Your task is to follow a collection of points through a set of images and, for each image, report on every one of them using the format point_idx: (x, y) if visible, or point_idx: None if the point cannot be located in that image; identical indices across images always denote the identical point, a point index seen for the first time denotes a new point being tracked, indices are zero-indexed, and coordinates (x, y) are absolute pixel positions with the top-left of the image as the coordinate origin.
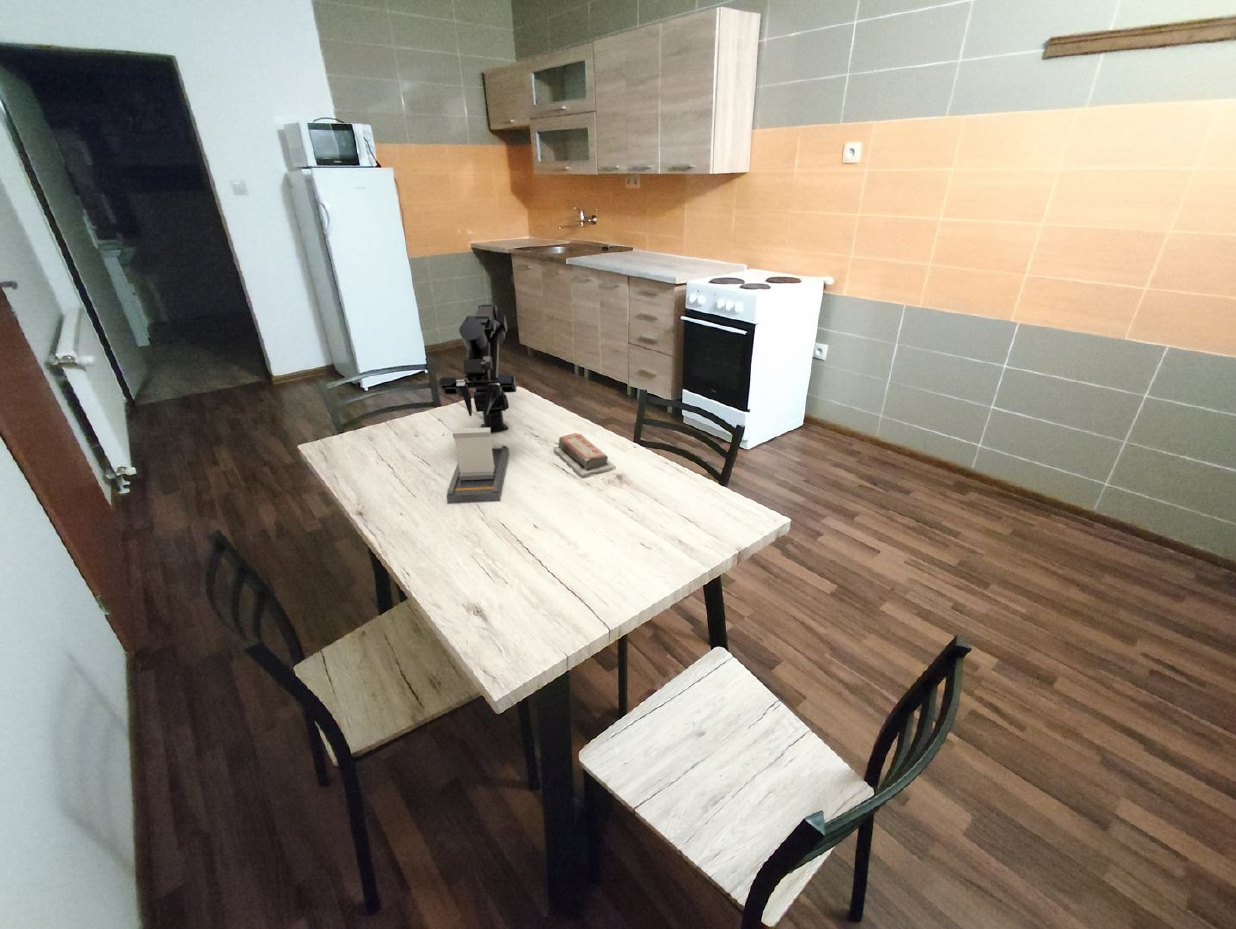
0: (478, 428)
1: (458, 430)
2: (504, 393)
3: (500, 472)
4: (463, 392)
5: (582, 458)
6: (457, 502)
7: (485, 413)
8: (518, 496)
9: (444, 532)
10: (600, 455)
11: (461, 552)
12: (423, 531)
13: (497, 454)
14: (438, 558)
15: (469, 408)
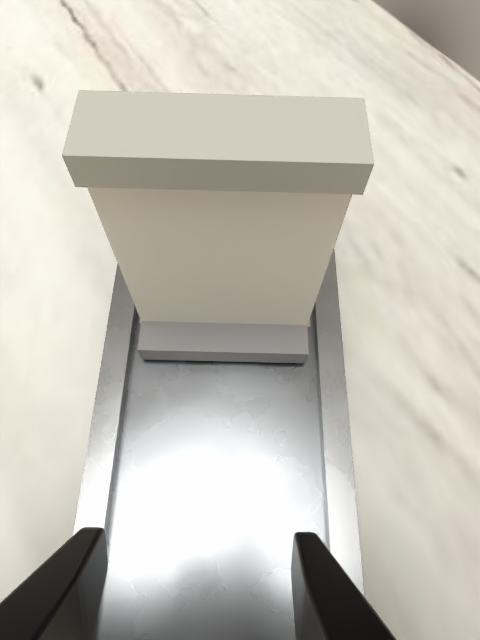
0: (164, 148)
1: (330, 135)
2: None
3: (116, 303)
4: None
5: None
6: None
7: (94, 530)
8: (68, 223)
9: (293, 86)
10: None
11: (233, 24)
12: (354, 95)
13: (131, 560)
14: (283, 14)
15: (324, 591)
